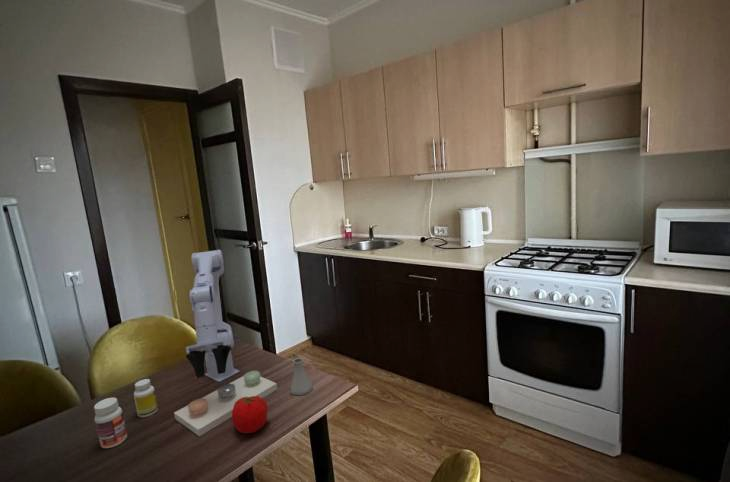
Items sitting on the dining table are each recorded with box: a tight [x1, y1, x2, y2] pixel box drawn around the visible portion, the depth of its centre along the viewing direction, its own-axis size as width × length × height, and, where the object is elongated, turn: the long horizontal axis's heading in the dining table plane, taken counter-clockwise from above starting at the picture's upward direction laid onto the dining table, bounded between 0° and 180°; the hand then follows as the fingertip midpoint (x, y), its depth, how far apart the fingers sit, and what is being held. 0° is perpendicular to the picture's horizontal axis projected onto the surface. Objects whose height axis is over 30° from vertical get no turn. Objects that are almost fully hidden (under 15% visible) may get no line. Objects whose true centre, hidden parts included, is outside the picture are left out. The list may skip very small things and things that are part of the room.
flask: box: [290, 357, 313, 396], centre depth 118 cm, size 7×7×10 cm
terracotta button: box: [187, 397, 208, 415], centre depth 108 cm, size 5×5×2 cm
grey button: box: [216, 383, 236, 398], centre depth 114 cm, size 5×5×2 cm
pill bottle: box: [93, 397, 128, 449], centre depth 101 cm, size 6×6×11 cm
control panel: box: [173, 375, 278, 437], centre depth 115 cm, size 14×26×2 cm, turn 141°
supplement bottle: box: [133, 378, 159, 418], centre depth 113 cm, size 5×5×10 cm
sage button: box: [243, 370, 261, 384], centre depth 121 cm, size 5×5×2 cm
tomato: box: [231, 396, 269, 434], centre depth 102 cm, size 9×10×8 cm
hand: (211, 375), depth 108 cm, fingers open, 7 cm apart
